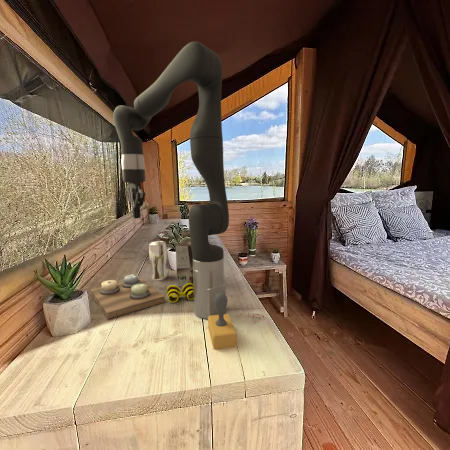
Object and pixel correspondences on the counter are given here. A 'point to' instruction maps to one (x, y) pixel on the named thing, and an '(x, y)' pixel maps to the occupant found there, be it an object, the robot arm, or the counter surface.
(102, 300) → the button board
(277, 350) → the counter surface
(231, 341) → the rubber stamp
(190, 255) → the coffee box
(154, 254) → the beer glass
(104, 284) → the button
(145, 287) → the button
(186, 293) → the opera glasses
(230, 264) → the counter surface
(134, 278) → the button
